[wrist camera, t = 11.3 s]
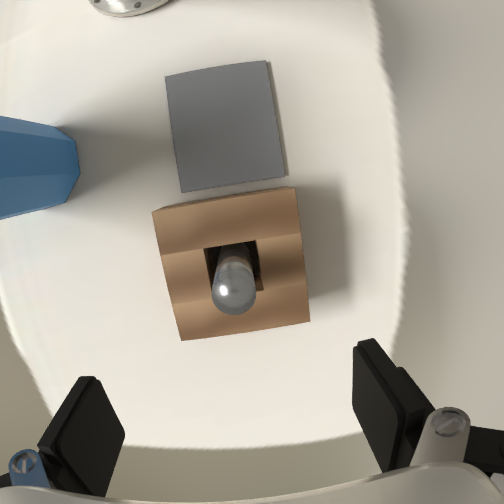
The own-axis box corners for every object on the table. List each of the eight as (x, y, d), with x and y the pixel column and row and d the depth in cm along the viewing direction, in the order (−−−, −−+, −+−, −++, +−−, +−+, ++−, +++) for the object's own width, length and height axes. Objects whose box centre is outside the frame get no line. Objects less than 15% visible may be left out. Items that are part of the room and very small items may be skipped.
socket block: (164, 206, 31) (151, 212, 26) (285, 186, 31) (294, 188, 26) (188, 318, 34) (181, 340, 29) (300, 301, 34) (310, 321, 29)
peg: (217, 243, 32) (207, 277, 21) (247, 238, 32) (252, 270, 21) (222, 272, 33) (216, 318, 22) (251, 267, 33) (259, 311, 22)
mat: (165, 77, 28) (164, 76, 28) (265, 61, 28) (265, 60, 28) (182, 192, 31) (181, 193, 30) (284, 176, 31) (285, 176, 30)
